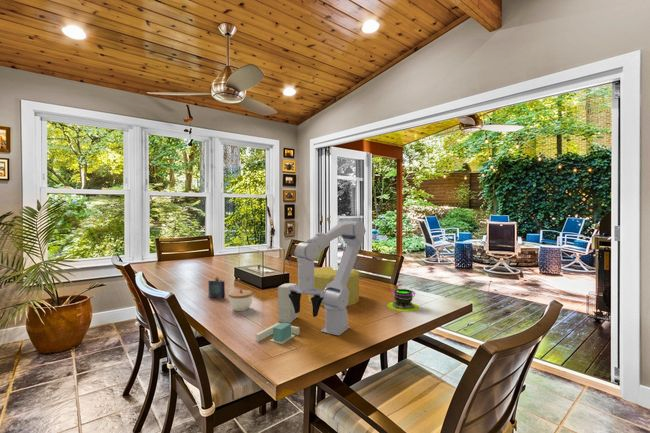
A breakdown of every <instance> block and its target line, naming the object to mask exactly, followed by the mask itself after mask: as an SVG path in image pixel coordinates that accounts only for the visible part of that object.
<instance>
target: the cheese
mask: <svg viewBox="0 0 650 433" xmlns="http://www.w3.org/2000/svg"><path fill="white" fill-rule="evenodd" d="M337 270H338V269H334V268H333V267H332V266H322V267H317V268H314V288H317V289H320V290H323V291H324V290H325V288H326V286H327V284H329V283H331V282H332V281H333V280H334V278H335V275H336V272H337ZM346 287H347V288H348V290H349V292H350V294H349V297H348V304H347V306H346V307H349V306H353V305H355V304H358V303H359V301H360V272H359V271H357V270H356V269H354V268H352V271H351V274H350V277H349V279H348V282H347V285H346ZM338 292H339V291H338ZM312 297H314V295H308V301H309V302H310V303H311V304H312V301H311V298H312ZM321 306H322V307H324V304H323V303H322V302H321V305H320V307H321Z"/></svg>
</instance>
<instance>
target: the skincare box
mask: <svg viewBox="0 0 650 433" xmlns="http://www.w3.org/2000/svg"><path fill="white" fill-rule="evenodd" d="M289 286H298V283H288V282H286V283H283V284H281V285H279V286H278V287H277V305H278V306H277V316H278V317H277V320H278V323H283V322H285V323H289V324H292V322H293V321H294V320H296V318H298V316H299V312H298V313H295V311H294V307H293V304H292V301H291V299H290V298H289V294H290V293H291V292H288V287H289Z"/></svg>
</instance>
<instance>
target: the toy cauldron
mask: <svg viewBox="0 0 650 433" xmlns="http://www.w3.org/2000/svg"><path fill="white" fill-rule="evenodd" d="M399 286H405V284H403V285H402V283H399ZM408 287H410V289H407V288H396V289H393V290H391V292H392V294H393V298H394V301H391V302H388V303H387V308H389V309H391V310H393V309H394V310H393V311H399V312H408V313H409V312H416V311H418V310H419V309H420V306H419V305H418V304H416V303H414V302H413V298H414V297H416V294H417V293H416V292H415V291H414V290H412V288H413V287H412V286H409V285H408Z"/></svg>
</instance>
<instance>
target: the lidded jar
mask: <svg viewBox="0 0 650 433" xmlns="http://www.w3.org/2000/svg"><path fill="white" fill-rule="evenodd" d="M253 295H254V294H253V290H249V289H242V288H240V289H238V290H233V291H230V292H229V293H228V296H229V297H228V298H229V300H228V302H229V304H230V307H231V308H232V309H233V310H234V312H244V311H247V310H248V309H249V308H250V307H251V305H252V303H253Z"/></svg>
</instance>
